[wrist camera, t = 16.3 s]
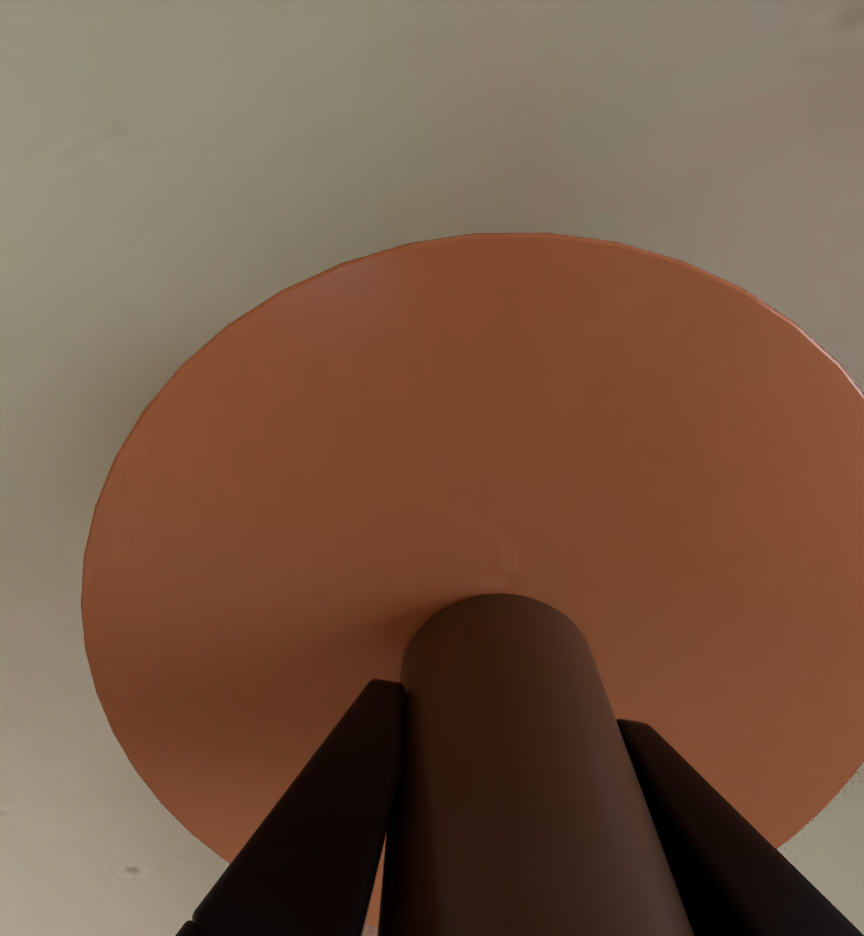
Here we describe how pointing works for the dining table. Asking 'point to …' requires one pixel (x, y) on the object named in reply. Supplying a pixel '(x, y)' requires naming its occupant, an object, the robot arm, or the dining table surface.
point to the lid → (493, 569)
